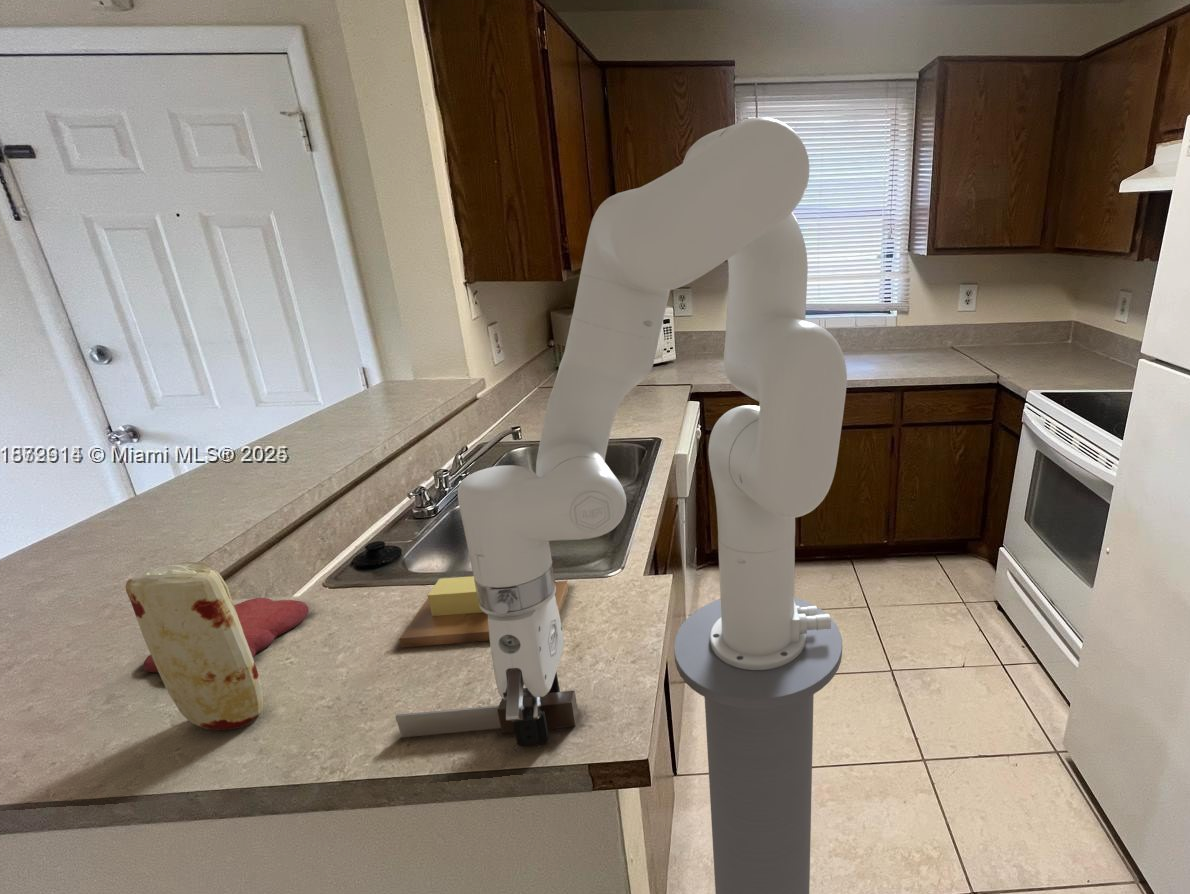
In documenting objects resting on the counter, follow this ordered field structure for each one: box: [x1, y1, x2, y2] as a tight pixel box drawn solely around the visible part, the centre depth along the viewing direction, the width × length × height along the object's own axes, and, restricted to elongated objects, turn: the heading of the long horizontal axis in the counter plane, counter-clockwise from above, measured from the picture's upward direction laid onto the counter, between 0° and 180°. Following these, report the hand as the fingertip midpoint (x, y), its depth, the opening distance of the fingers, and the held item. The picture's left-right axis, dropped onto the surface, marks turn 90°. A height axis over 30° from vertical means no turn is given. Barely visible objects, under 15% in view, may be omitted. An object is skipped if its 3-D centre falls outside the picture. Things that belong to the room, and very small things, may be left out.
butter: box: [427, 575, 483, 616], centre depth 89 cm, size 7×4×4 cm, turn 97°
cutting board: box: [398, 580, 570, 648], centre depth 89 cm, size 20×12×2 cm, turn 97°
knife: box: [395, 690, 579, 738], centre depth 68 cm, size 19×2×3 cm, turn 97°
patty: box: [142, 597, 310, 674], centre depth 84 cm, size 18×14×2 cm
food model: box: [125, 561, 264, 731], centre depth 67 cm, size 10×7×20 cm
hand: (540, 719), depth 69 cm, fingers open, 5 cm apart
